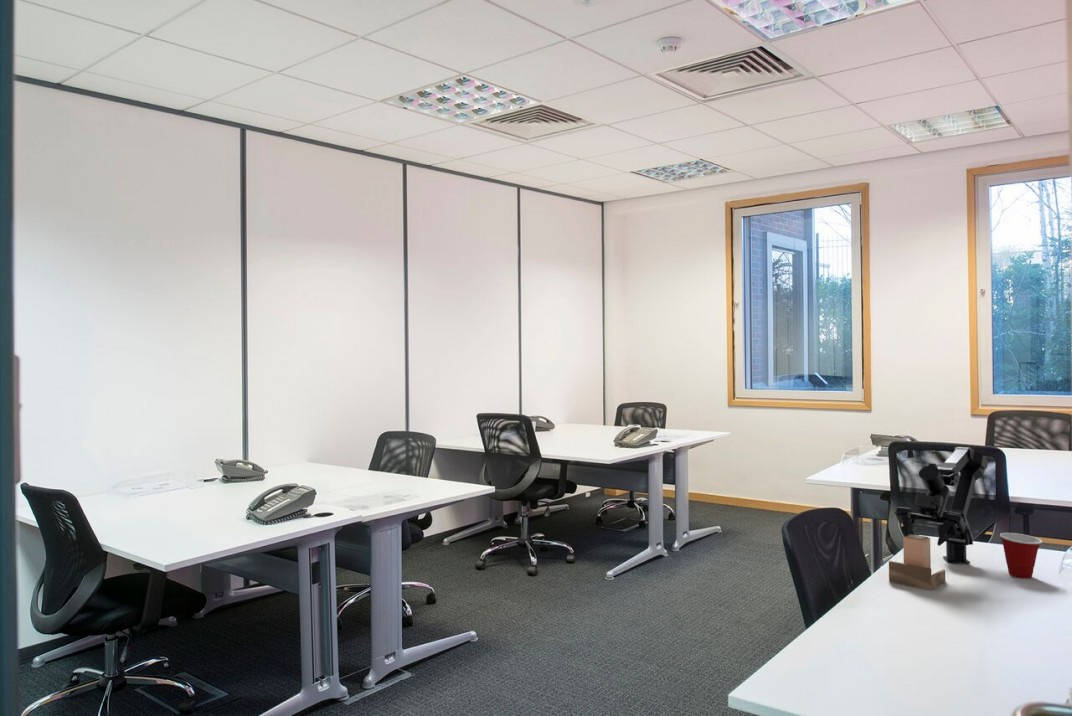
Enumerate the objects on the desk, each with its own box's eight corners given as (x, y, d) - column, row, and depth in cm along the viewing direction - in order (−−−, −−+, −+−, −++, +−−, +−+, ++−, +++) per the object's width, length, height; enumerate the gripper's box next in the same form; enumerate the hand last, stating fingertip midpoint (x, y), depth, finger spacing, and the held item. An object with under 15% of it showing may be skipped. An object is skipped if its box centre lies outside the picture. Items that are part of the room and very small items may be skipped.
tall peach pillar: (911, 577, 225) (910, 533, 225) (930, 581, 221) (930, 536, 221) (903, 581, 222) (903, 536, 222) (923, 585, 218) (922, 540, 218)
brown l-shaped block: (904, 573, 229) (904, 554, 229) (945, 581, 221) (945, 561, 221) (889, 581, 222) (888, 561, 222) (930, 590, 213) (930, 569, 213)
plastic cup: (1041, 583, 218) (1041, 542, 218) (998, 577, 224) (997, 537, 224) (1044, 574, 226) (1043, 535, 226) (1002, 569, 233) (1001, 530, 233)
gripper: (896, 480, 235) (881, 521, 227) (961, 487, 221) (948, 531, 213) (907, 502, 240) (893, 542, 232) (971, 510, 226) (958, 554, 219)
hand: (921, 542), depth 224 cm, fingers open, 9 cm apart
